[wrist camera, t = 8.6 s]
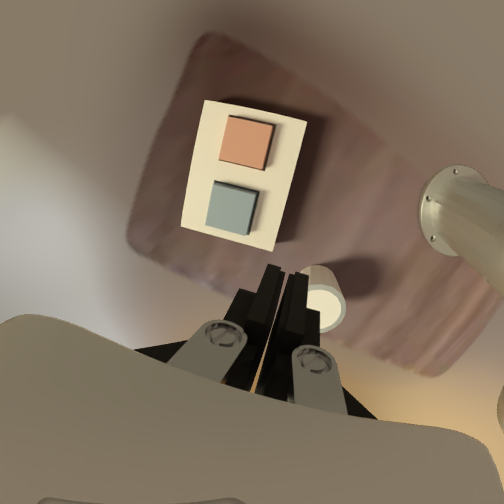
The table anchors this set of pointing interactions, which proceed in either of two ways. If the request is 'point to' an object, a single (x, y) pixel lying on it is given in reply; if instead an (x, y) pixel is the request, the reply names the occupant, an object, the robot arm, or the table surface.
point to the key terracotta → (246, 142)
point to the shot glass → (325, 296)
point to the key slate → (231, 208)
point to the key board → (242, 172)
